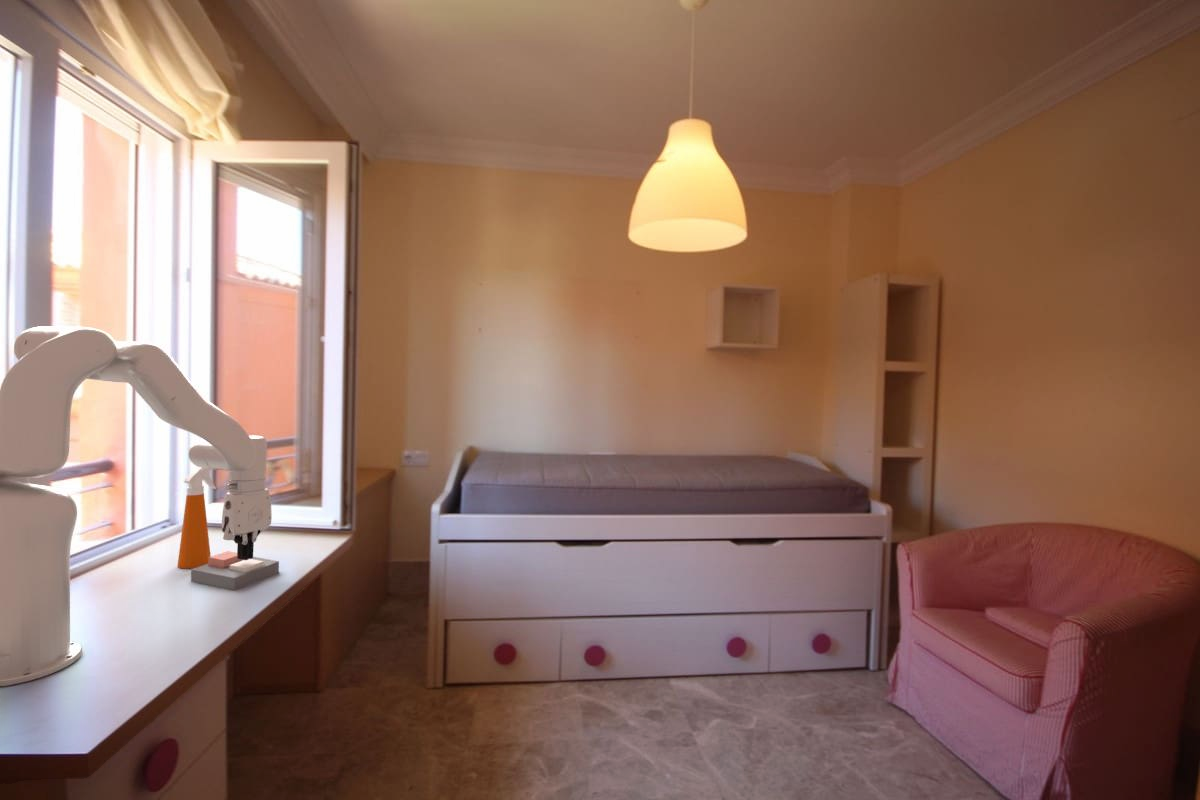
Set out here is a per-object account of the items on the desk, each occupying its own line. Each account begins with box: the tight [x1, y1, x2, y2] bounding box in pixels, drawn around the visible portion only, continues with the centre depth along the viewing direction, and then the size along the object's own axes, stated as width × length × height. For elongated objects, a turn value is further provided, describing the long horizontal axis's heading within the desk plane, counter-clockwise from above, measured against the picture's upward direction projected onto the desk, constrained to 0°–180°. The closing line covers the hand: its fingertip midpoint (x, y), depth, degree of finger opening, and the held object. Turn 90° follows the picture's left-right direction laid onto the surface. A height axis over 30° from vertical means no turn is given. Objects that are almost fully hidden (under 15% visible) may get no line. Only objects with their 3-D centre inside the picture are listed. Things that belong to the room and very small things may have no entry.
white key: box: [230, 559, 264, 573], centre depth 128 cm, size 5×5×2 cm
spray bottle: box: [177, 467, 217, 570], centre depth 138 cm, size 7×11×26 cm, turn 2°
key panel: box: [190, 556, 280, 591], centre depth 129 cm, size 12×14×3 cm
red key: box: [208, 550, 243, 569], centre depth 130 cm, size 5×5×2 cm
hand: (245, 558), depth 128 cm, fingers closed
